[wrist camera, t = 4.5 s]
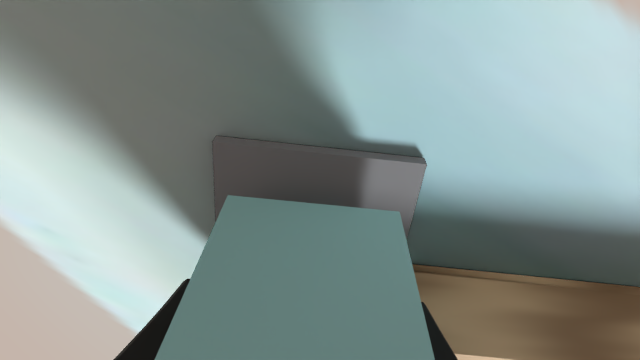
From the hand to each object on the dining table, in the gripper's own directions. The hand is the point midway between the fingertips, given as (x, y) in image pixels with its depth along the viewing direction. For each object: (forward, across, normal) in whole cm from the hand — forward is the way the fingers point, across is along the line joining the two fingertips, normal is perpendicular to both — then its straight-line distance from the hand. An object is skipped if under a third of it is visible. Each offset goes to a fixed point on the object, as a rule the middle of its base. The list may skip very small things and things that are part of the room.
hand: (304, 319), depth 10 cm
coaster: (+4, 0, 0) cm, 4 cm away
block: (+2, 0, 0) cm, 2 cm away
